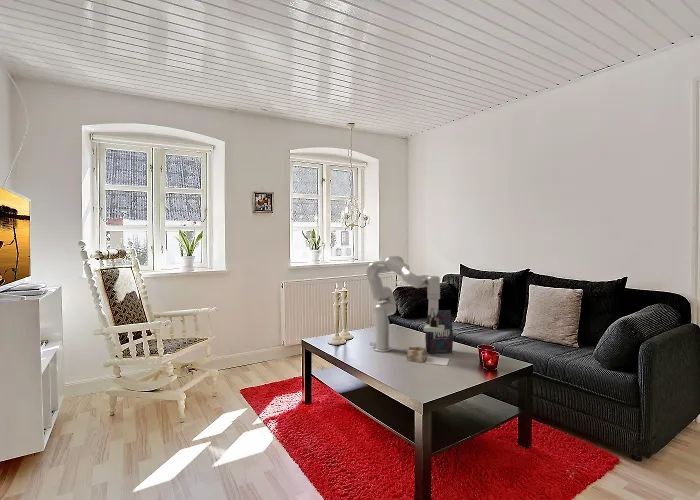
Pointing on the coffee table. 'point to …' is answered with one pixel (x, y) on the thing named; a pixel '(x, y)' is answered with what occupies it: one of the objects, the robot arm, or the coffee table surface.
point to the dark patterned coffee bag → (440, 335)
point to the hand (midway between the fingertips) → (434, 325)
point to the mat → (437, 361)
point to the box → (416, 354)
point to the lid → (434, 329)
